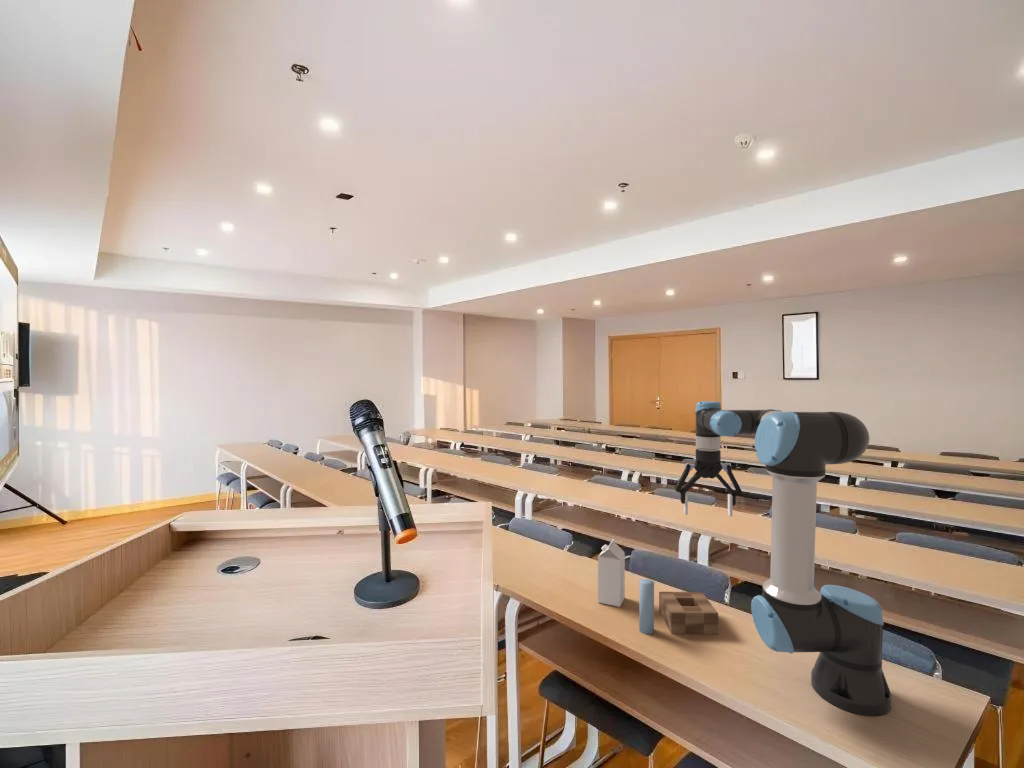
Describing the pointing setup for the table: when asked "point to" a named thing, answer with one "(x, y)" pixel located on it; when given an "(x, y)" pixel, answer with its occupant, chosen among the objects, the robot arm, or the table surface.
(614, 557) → the milk carton
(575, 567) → the table surface
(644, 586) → the peg
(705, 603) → the socket block
